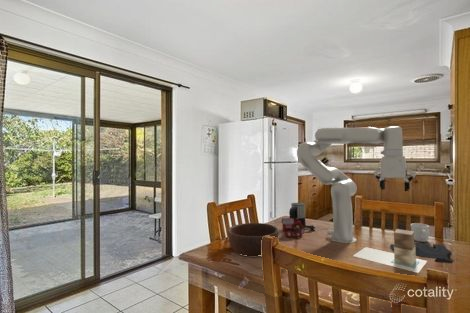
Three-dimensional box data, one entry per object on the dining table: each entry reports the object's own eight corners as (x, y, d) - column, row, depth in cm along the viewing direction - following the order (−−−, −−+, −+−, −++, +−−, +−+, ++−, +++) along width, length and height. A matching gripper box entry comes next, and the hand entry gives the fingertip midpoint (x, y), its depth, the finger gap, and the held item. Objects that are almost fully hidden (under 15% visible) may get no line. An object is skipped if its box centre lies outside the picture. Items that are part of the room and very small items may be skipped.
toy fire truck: (305, 238, 141) (304, 219, 141) (282, 238, 142) (282, 219, 142) (303, 234, 148) (302, 216, 148) (281, 234, 149) (280, 216, 149)
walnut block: (394, 247, 104) (394, 232, 104) (397, 243, 108) (396, 229, 109) (412, 250, 100) (411, 234, 100) (414, 246, 105) (413, 231, 105)
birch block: (394, 261, 104) (394, 247, 104) (398, 257, 108) (398, 243, 108) (412, 266, 100) (411, 250, 100) (415, 261, 104) (415, 246, 104)
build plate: (352, 258, 112) (352, 255, 112) (365, 249, 122) (365, 246, 122) (418, 275, 94) (418, 272, 94) (427, 263, 104) (427, 260, 104)
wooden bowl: (289, 249, 125) (288, 228, 125) (255, 265, 108) (254, 240, 108) (252, 238, 143) (251, 220, 143) (217, 250, 126) (217, 229, 126)
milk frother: (293, 224, 171) (292, 202, 171) (317, 226, 165) (316, 203, 165) (288, 229, 158) (287, 205, 158) (314, 232, 152) (313, 207, 152)
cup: (435, 245, 124) (434, 229, 124) (415, 244, 127) (415, 228, 127) (426, 238, 134) (425, 223, 135) (408, 237, 137) (408, 222, 137)
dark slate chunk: (387, 247, 125) (386, 237, 125) (441, 251, 118) (440, 241, 118) (396, 259, 110) (396, 248, 110) (458, 264, 103) (458, 253, 103)
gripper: (370, 154, 123) (371, 189, 123) (413, 152, 110) (414, 192, 110) (376, 153, 128) (377, 188, 128) (417, 152, 115) (418, 190, 115)
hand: (394, 190), depth 119 cm, fingers open, 9 cm apart
